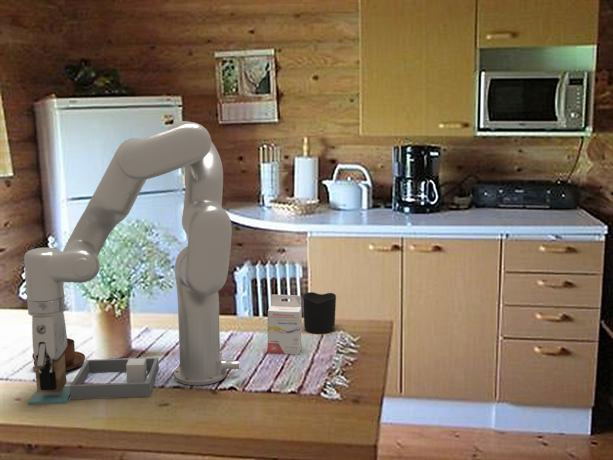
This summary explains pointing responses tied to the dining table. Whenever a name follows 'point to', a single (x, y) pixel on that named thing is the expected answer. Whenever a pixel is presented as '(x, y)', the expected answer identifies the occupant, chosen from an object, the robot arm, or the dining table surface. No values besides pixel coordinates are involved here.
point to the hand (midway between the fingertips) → (52, 383)
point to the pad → (51, 397)
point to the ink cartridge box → (284, 325)
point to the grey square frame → (112, 389)
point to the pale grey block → (136, 370)
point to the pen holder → (319, 312)
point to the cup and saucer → (71, 356)
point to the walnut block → (59, 373)
